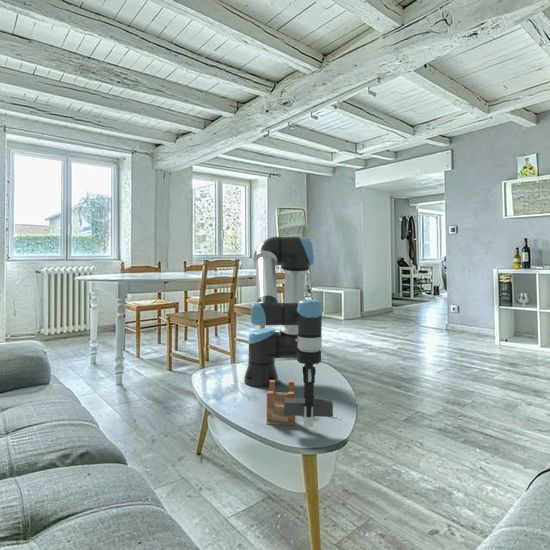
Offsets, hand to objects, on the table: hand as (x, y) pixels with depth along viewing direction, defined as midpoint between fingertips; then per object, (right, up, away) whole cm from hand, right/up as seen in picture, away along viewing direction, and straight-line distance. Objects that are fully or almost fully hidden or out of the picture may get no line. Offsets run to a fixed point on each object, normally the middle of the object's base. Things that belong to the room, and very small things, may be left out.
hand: (308, 422), depth 121 cm
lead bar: (0, +3, 0) cm, 3 cm away
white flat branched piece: (+5, -3, +19) cm, 20 cm away
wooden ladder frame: (-8, -2, +14) cm, 16 cm away
